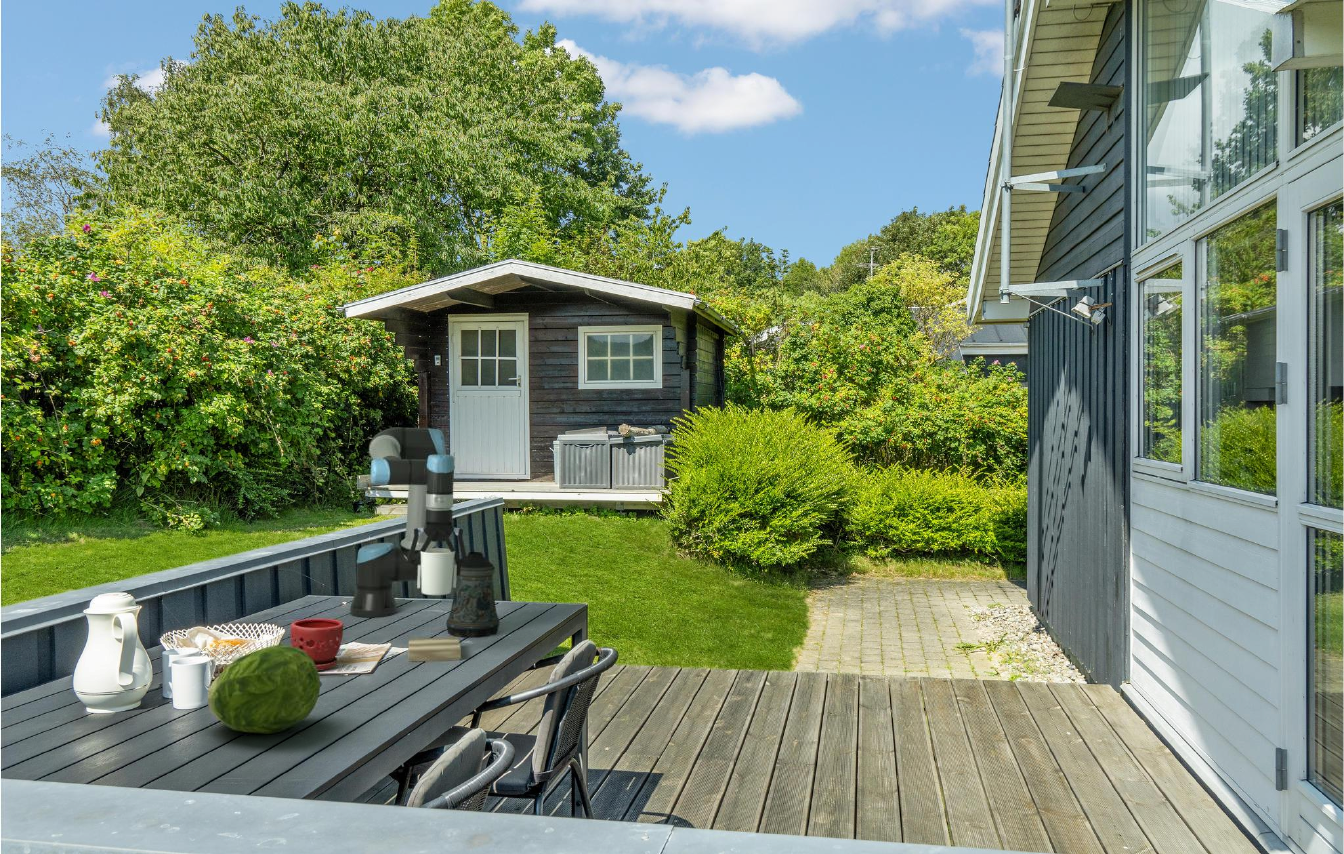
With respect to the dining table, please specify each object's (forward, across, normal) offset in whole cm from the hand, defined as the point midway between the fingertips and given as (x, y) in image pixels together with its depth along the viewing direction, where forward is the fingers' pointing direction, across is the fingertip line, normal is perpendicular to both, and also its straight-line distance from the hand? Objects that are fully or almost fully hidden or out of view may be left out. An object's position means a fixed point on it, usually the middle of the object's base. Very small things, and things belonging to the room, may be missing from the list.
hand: (436, 586), depth 261 cm
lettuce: (+20, -38, -56) cm, 70 cm away
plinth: (+19, 0, 0) cm, 19 cm away
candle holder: (+2, 0, 0) cm, 2 cm away
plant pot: (+20, -31, -8) cm, 38 cm away
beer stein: (+20, +12, +27) cm, 36 cm away
